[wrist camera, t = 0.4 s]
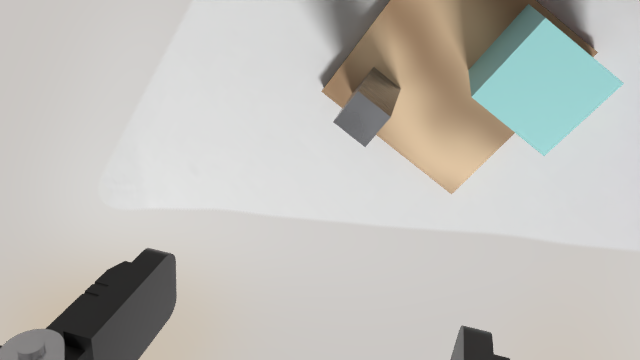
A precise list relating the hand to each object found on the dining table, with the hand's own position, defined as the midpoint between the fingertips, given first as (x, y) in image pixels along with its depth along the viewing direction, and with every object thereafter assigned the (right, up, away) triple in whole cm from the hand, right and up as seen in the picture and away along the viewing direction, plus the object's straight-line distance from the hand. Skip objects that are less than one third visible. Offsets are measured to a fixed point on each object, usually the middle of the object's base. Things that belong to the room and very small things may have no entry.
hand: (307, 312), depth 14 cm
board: (+9, +11, +21) cm, 25 cm away
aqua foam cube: (+14, +11, +19) cm, 26 cm away
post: (+4, +10, +22) cm, 24 cm away
